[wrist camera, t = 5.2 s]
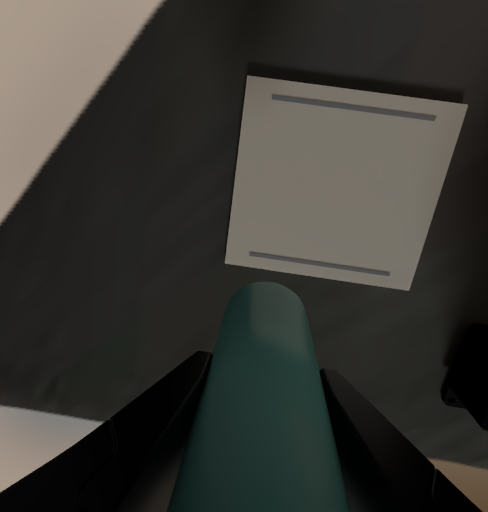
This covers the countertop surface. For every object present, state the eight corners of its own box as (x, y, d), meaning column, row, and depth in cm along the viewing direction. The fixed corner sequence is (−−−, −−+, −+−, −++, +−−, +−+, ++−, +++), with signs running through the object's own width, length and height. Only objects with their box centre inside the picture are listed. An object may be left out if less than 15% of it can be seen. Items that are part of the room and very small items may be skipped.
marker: (316, 285, 11) (573, 1009, 2) (301, 362, 12) (413, 1101, 3) (225, 273, 11) (-5, 886, 2) (218, 351, 12) (42, 1013, 3)
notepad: (461, 106, 18) (469, 104, 17) (405, 287, 21) (409, 291, 21) (247, 78, 18) (247, 75, 18) (225, 260, 22) (224, 263, 21)
